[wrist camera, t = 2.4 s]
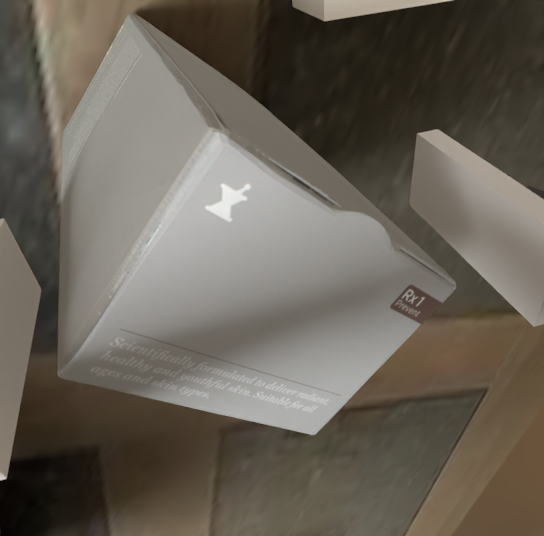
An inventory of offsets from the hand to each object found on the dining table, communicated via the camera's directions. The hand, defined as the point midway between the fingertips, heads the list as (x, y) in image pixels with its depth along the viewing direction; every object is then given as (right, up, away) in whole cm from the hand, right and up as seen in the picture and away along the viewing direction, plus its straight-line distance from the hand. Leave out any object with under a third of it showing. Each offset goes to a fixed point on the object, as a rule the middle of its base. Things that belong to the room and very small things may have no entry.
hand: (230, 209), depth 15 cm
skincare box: (-3, +6, +8) cm, 10 cm away
